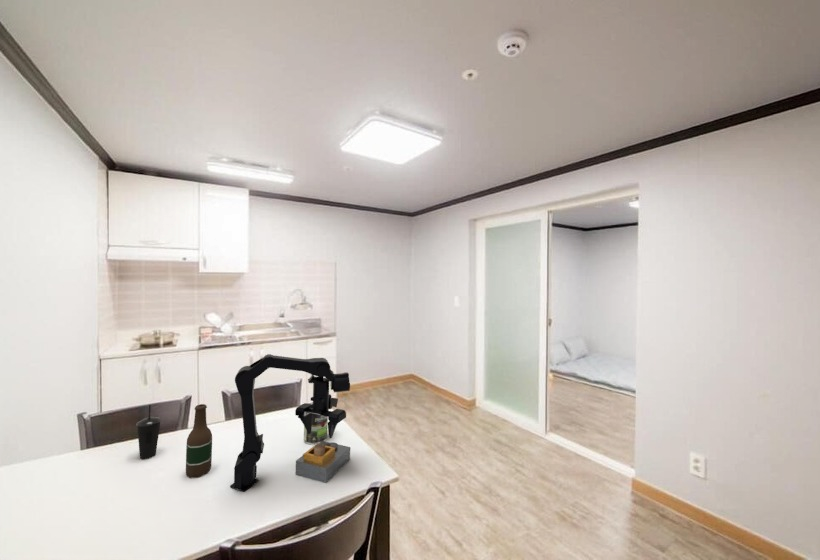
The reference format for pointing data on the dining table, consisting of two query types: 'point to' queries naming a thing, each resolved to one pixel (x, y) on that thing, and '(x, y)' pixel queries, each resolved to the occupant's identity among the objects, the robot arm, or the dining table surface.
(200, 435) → the beer bottle
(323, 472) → the grey block with socket
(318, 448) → the wooden plug
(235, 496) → the dining table surface
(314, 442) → the coffee can
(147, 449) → the drinking cup
